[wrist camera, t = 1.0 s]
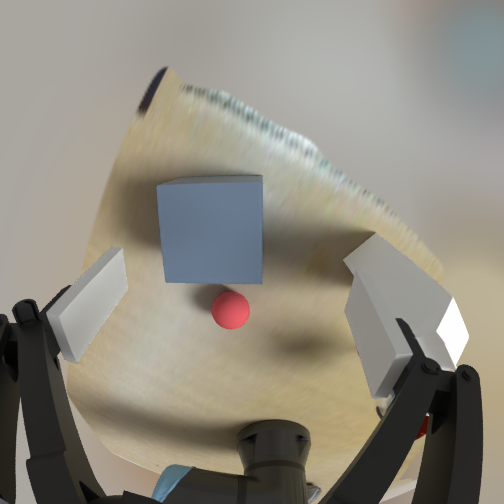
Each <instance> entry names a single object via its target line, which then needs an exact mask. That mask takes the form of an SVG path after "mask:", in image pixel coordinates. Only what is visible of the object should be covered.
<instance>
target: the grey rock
mask: <svg viewBox="0 0 504 504" xmlns="http://www.w3.org/2000/svg"><path fill="white" fill-rule="evenodd" d="M321 491H322V490H321V488H318V486H312V485H307V495H308V504H311V503H312V502H313V501H314V500H315V499H317V497H319V495H320V494H321Z"/></svg>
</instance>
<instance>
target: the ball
mask: <svg viewBox="0 0 504 504" xmlns="http://www.w3.org/2000/svg"><path fill="white" fill-rule="evenodd" d="M249 314H250V307H249V304H248V302H247V300H246V299H245V298H244V297H243V296H242V295H241V294H239V293H236V292H225V293H222V294H221V295H219V296H218V297H217V298H216V299H215V301H214V303H213V305H212V315H213V318H214V320H215V321H216V323H217V324H218V325H220V326H221V327H223V328H226V329H236V328H239V327H241V326H242V325H244V324H245V322H246V321H247V319H248V317H249Z"/></svg>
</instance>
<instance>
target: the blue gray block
mask: <svg viewBox="0 0 504 504" xmlns="http://www.w3.org/2000/svg"><path fill="white" fill-rule="evenodd" d="M156 189H157V204H158V217H159V228H160V238H161V248H162V257H163V266H164V274H165V281H166V282H167V283H207V284H262V237H263V182H262V175H239V176H201V177H180V178H177V179H174V180H171V181H168V182H165V183H162V184H159V185H157V186H156Z"/></svg>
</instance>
